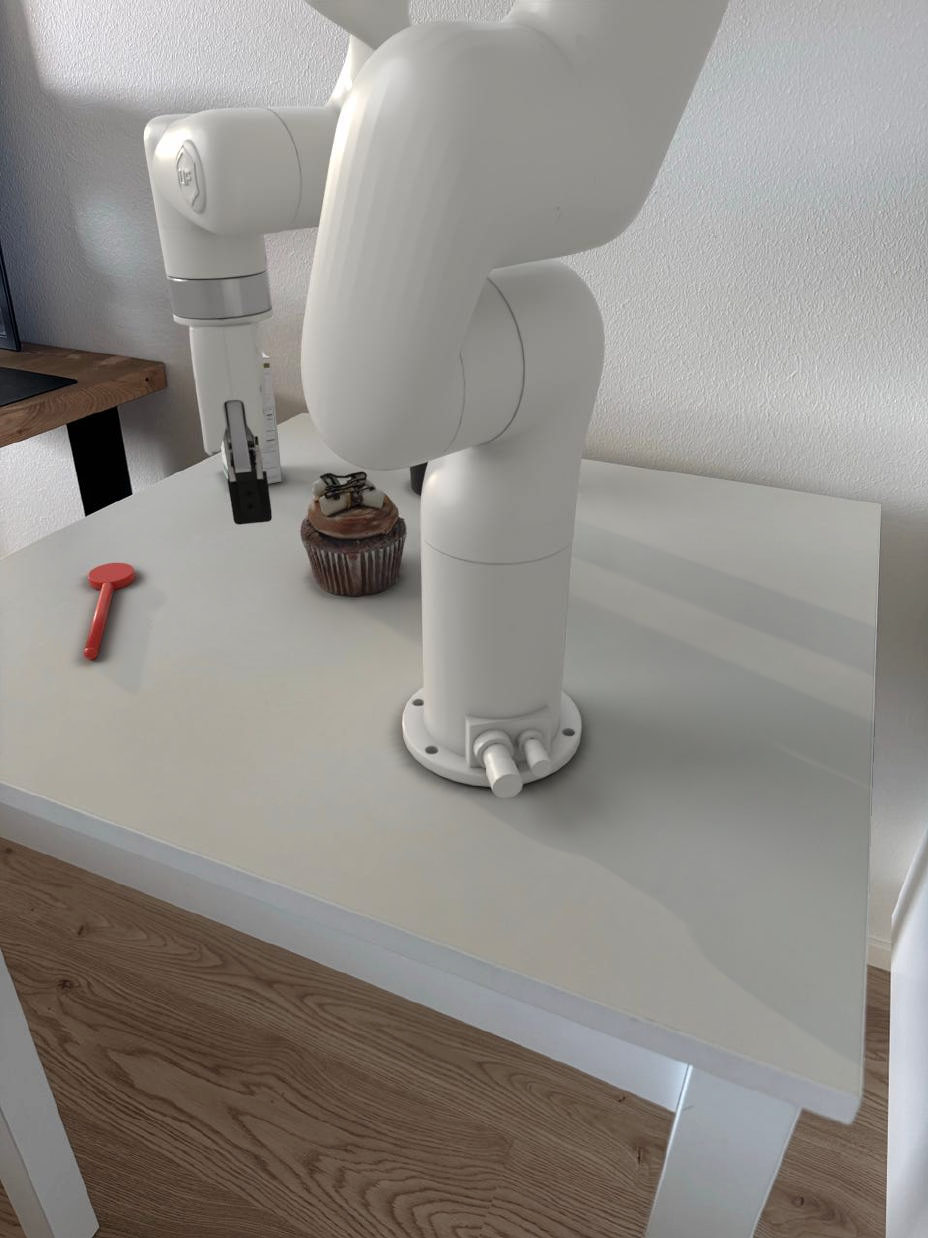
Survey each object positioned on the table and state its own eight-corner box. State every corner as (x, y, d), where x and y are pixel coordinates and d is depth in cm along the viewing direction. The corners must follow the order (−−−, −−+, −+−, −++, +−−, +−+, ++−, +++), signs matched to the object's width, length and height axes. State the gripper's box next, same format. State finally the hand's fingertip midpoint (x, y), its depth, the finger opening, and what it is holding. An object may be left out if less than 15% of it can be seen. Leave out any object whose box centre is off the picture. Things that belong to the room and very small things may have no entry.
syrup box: (222, 473, 106) (205, 348, 99) (272, 465, 108) (258, 342, 101) (233, 490, 102) (216, 360, 94) (285, 482, 104) (272, 354, 97)
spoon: (117, 658, 72) (115, 648, 71) (64, 664, 71) (61, 653, 71) (137, 568, 85) (135, 558, 85) (92, 572, 85) (90, 562, 84)
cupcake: (425, 587, 82) (423, 484, 77) (323, 610, 79) (314, 504, 74) (386, 545, 90) (381, 449, 85) (291, 565, 86) (281, 465, 81)
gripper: (177, 285, 75) (211, 493, 84) (163, 319, 62) (205, 560, 71) (269, 280, 76) (293, 485, 85) (273, 312, 64) (301, 550, 72)
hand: (253, 519), depth 78 cm, fingers closed
